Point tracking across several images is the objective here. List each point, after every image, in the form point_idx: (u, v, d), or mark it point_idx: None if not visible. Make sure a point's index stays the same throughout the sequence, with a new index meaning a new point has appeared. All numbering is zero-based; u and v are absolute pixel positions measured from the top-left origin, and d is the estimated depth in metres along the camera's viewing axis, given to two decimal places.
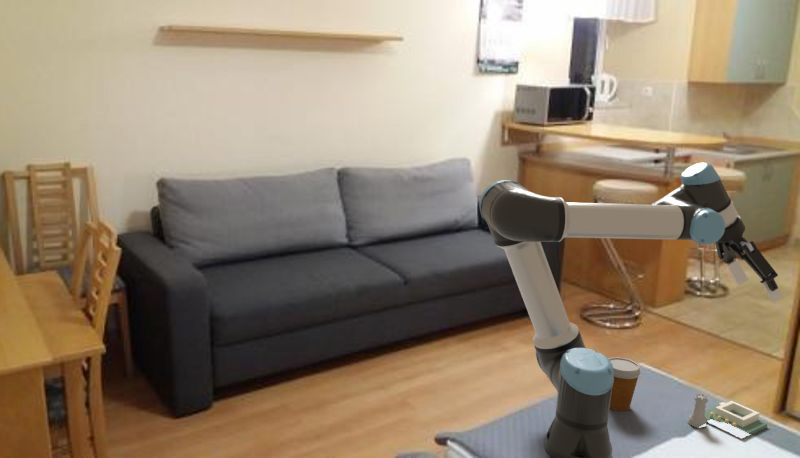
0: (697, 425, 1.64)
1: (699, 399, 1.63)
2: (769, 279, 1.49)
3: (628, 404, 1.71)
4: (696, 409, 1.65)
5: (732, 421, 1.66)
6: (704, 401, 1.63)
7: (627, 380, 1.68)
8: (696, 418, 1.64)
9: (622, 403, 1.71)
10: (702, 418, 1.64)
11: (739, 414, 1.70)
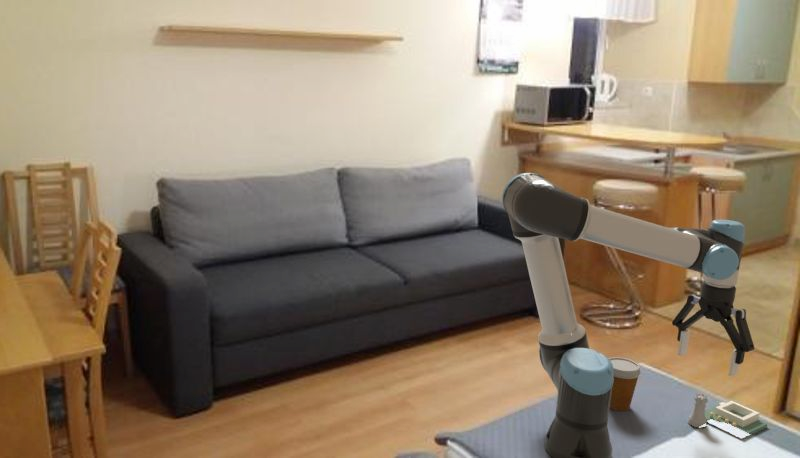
0: (697, 425, 1.64)
1: (699, 399, 1.63)
2: (749, 350, 1.52)
3: (628, 404, 1.71)
4: (696, 409, 1.65)
5: (732, 421, 1.66)
6: (704, 401, 1.63)
7: (627, 380, 1.68)
8: (696, 418, 1.64)
9: (622, 403, 1.71)
10: (702, 418, 1.64)
11: (739, 414, 1.70)
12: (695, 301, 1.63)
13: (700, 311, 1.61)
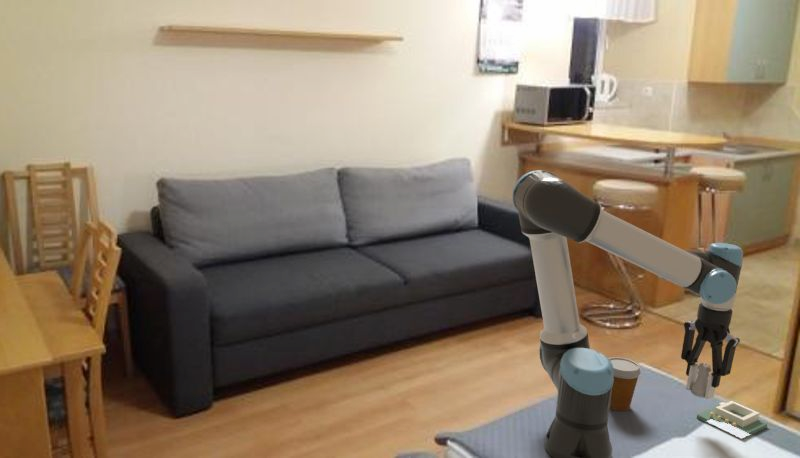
0: (700, 394, 1.62)
1: (702, 368, 1.62)
2: (725, 374, 1.57)
3: (628, 404, 1.71)
4: (699, 378, 1.63)
5: (732, 421, 1.66)
6: (707, 370, 1.61)
7: (627, 380, 1.68)
8: (699, 387, 1.62)
9: (622, 403, 1.71)
10: (705, 387, 1.62)
11: (739, 414, 1.70)
12: (692, 326, 1.64)
13: (699, 336, 1.61)
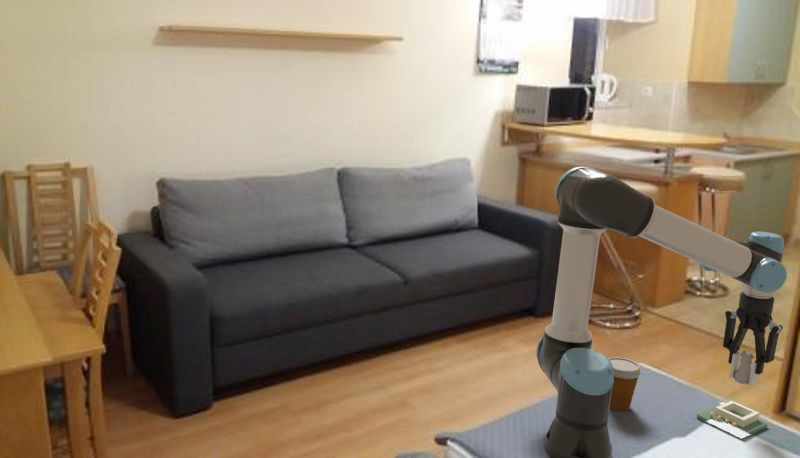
0: (743, 381, 1.65)
1: (745, 355, 1.64)
2: (768, 361, 1.59)
3: (628, 404, 1.71)
4: (742, 366, 1.65)
5: (732, 421, 1.66)
6: (751, 357, 1.63)
7: (627, 380, 1.68)
8: (743, 375, 1.65)
9: (622, 403, 1.71)
10: (748, 374, 1.64)
11: (739, 414, 1.70)
12: (734, 315, 1.66)
13: (741, 324, 1.64)
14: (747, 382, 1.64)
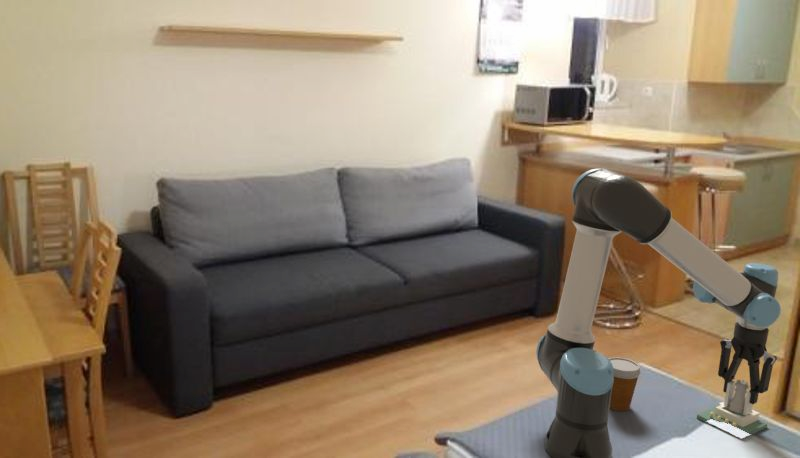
0: (738, 411, 1.66)
1: (740, 385, 1.66)
2: (763, 391, 1.61)
3: (628, 404, 1.71)
4: (737, 395, 1.67)
5: (732, 421, 1.66)
6: (745, 387, 1.65)
7: (627, 380, 1.68)
8: (737, 404, 1.66)
9: (622, 403, 1.71)
10: (743, 403, 1.66)
11: (739, 414, 1.70)
12: (729, 345, 1.68)
13: (736, 354, 1.65)
14: (742, 411, 1.66)
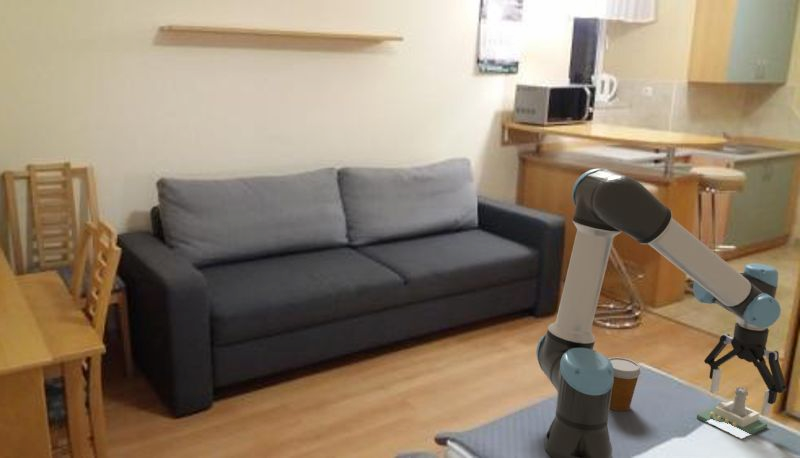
0: None
1: (740, 392, 1.66)
2: (782, 391, 1.57)
3: (628, 404, 1.71)
4: (736, 402, 1.67)
5: (732, 421, 1.66)
6: (745, 394, 1.66)
7: (627, 380, 1.68)
8: (737, 411, 1.67)
9: (622, 403, 1.71)
10: (743, 410, 1.67)
11: None
12: (728, 341, 1.68)
13: (733, 351, 1.66)
14: None
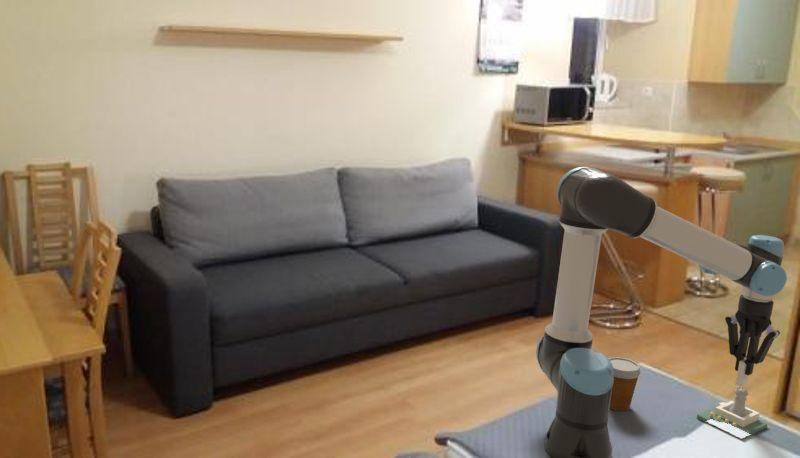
0: None
1: (740, 392, 1.66)
2: (758, 362, 1.61)
3: (628, 404, 1.71)
4: (736, 402, 1.67)
5: (732, 421, 1.66)
6: (745, 394, 1.66)
7: (627, 380, 1.68)
8: (737, 411, 1.67)
9: (622, 403, 1.71)
10: (743, 410, 1.67)
11: None
12: (734, 320, 1.66)
13: (741, 328, 1.63)
14: None
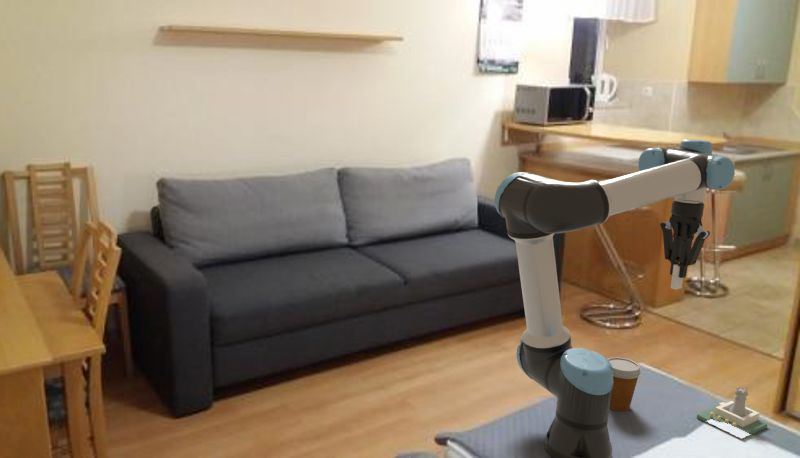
0: None
1: (740, 392, 1.66)
2: (690, 263, 1.66)
3: (628, 404, 1.71)
4: (736, 402, 1.67)
5: (732, 421, 1.66)
6: (745, 394, 1.66)
7: (627, 380, 1.68)
8: (737, 411, 1.67)
9: (622, 403, 1.71)
10: (743, 410, 1.67)
11: None
12: (668, 225, 1.71)
13: (675, 231, 1.68)
14: None
